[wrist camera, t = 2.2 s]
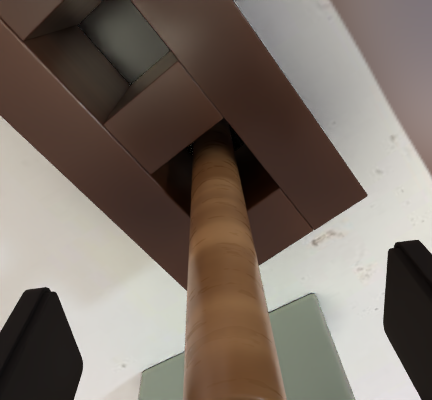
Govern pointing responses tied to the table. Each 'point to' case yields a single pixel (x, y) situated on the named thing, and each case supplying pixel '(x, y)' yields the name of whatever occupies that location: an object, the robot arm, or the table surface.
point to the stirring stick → (225, 286)
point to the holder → (169, 122)
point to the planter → (287, 355)
